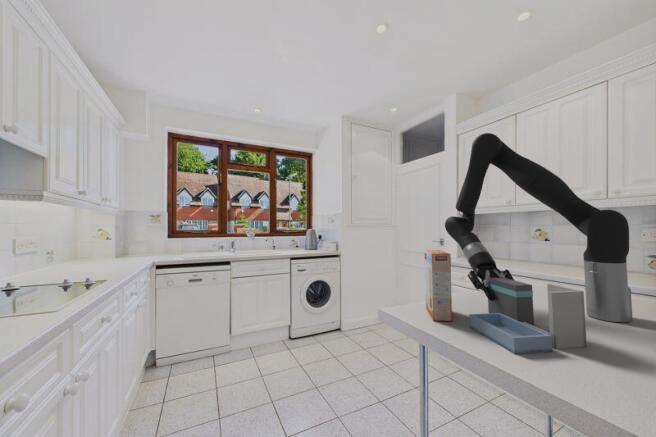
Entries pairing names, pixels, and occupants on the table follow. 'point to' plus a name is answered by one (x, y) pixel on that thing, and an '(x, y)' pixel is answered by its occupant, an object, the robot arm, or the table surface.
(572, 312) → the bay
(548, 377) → the table surface
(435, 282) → the cracker box
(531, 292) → the teal-striped grey block
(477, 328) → the tray
